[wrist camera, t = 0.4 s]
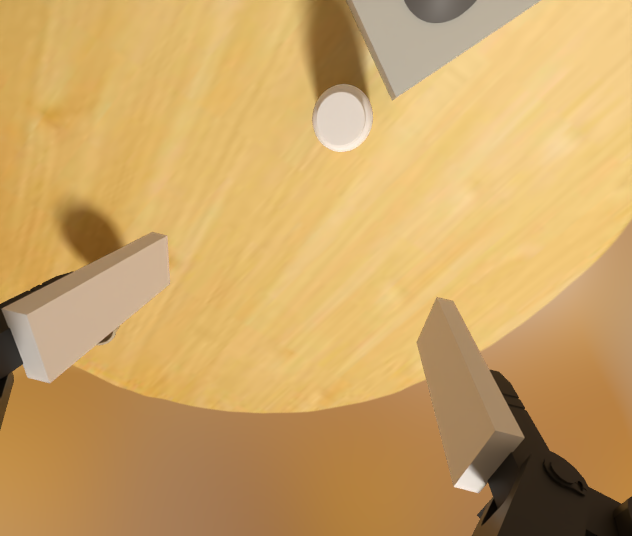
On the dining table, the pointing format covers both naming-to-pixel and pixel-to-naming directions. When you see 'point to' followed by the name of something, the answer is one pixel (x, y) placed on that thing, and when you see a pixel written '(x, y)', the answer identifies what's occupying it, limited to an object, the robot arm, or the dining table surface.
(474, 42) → the grey recessed tray
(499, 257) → the dining table surface
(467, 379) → the robot arm
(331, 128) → the pill bottle
